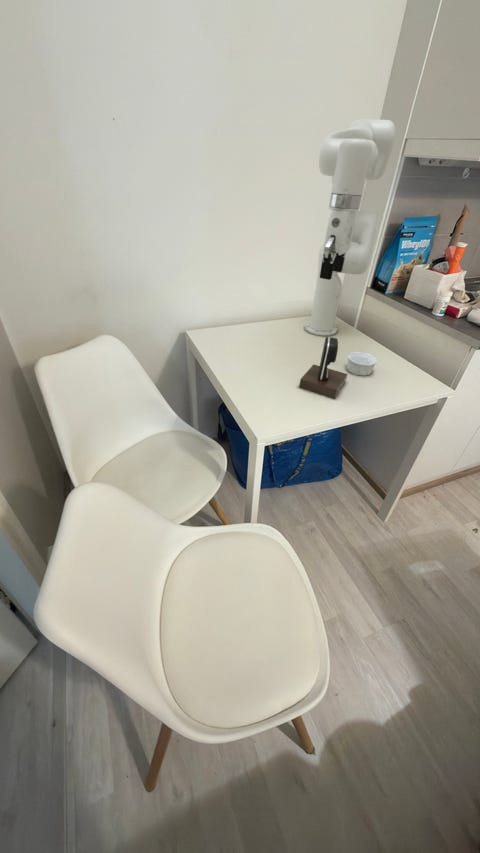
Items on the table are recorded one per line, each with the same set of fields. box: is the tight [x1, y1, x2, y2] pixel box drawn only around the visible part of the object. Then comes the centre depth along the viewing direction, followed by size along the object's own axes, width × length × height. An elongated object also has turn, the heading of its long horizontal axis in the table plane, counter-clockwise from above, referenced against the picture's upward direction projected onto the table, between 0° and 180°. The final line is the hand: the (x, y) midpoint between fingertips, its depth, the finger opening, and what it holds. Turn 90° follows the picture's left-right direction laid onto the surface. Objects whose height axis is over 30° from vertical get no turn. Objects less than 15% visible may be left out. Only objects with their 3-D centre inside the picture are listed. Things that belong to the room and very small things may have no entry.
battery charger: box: [318, 336, 339, 381], centre depth 98 cm, size 7×4×11 cm, turn 167°
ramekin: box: [346, 351, 377, 376], centre depth 111 cm, size 9×9×4 cm
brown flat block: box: [298, 363, 348, 400], centre depth 103 cm, size 11×11×3 cm
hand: (330, 274), depth 96 cm, fingers open, 9 cm apart
